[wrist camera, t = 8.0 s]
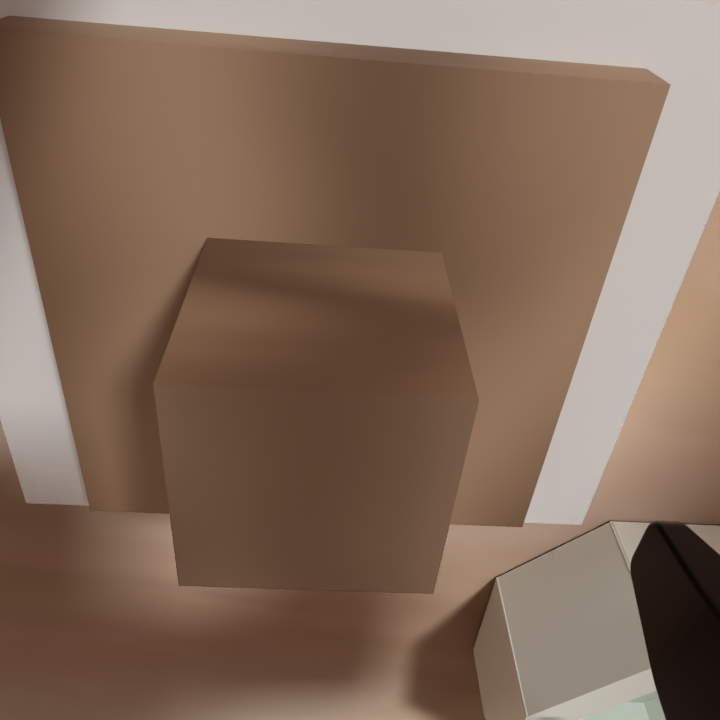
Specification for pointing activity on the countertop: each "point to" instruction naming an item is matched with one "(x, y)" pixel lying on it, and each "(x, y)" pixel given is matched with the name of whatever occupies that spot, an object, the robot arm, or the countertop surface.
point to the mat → (458, 35)
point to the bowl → (571, 634)
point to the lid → (315, 281)
